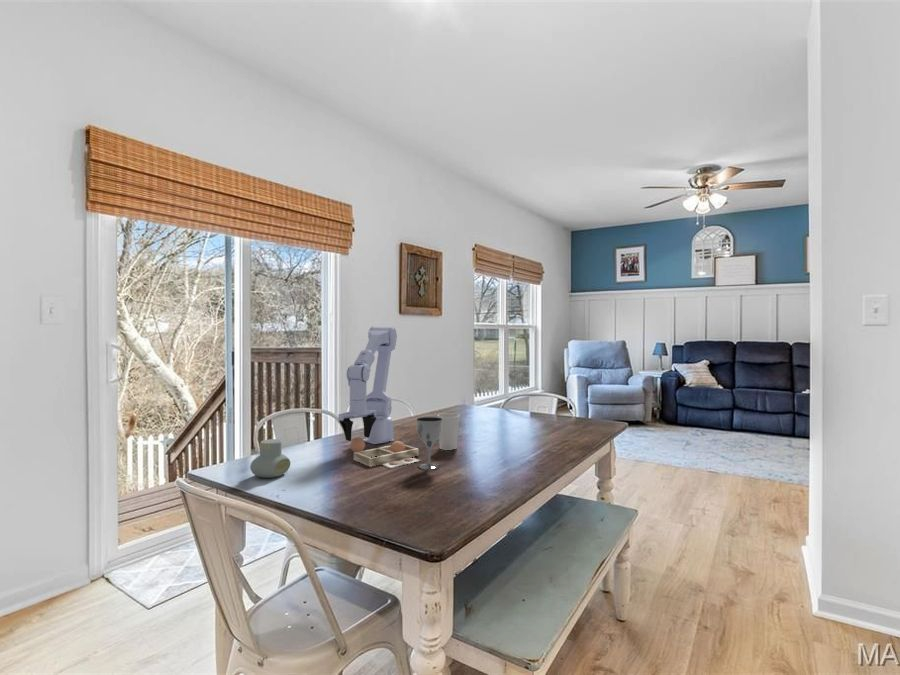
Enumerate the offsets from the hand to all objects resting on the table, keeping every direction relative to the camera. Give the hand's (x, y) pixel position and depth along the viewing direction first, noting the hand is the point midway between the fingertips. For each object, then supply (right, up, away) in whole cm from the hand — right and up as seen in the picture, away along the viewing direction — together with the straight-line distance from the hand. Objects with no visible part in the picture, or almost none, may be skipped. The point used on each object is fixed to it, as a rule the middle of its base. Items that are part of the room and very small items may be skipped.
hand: (357, 438), depth 165 cm
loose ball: (0, -2, 0) cm, 2 cm away
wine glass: (+26, -5, -17) cm, 31 cm away
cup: (+31, -5, +6) cm, 32 cm away
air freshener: (-20, -5, -27) cm, 34 cm away
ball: (+14, -2, -4) cm, 15 cm away
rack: (+13, -5, -9) cm, 17 cm away
